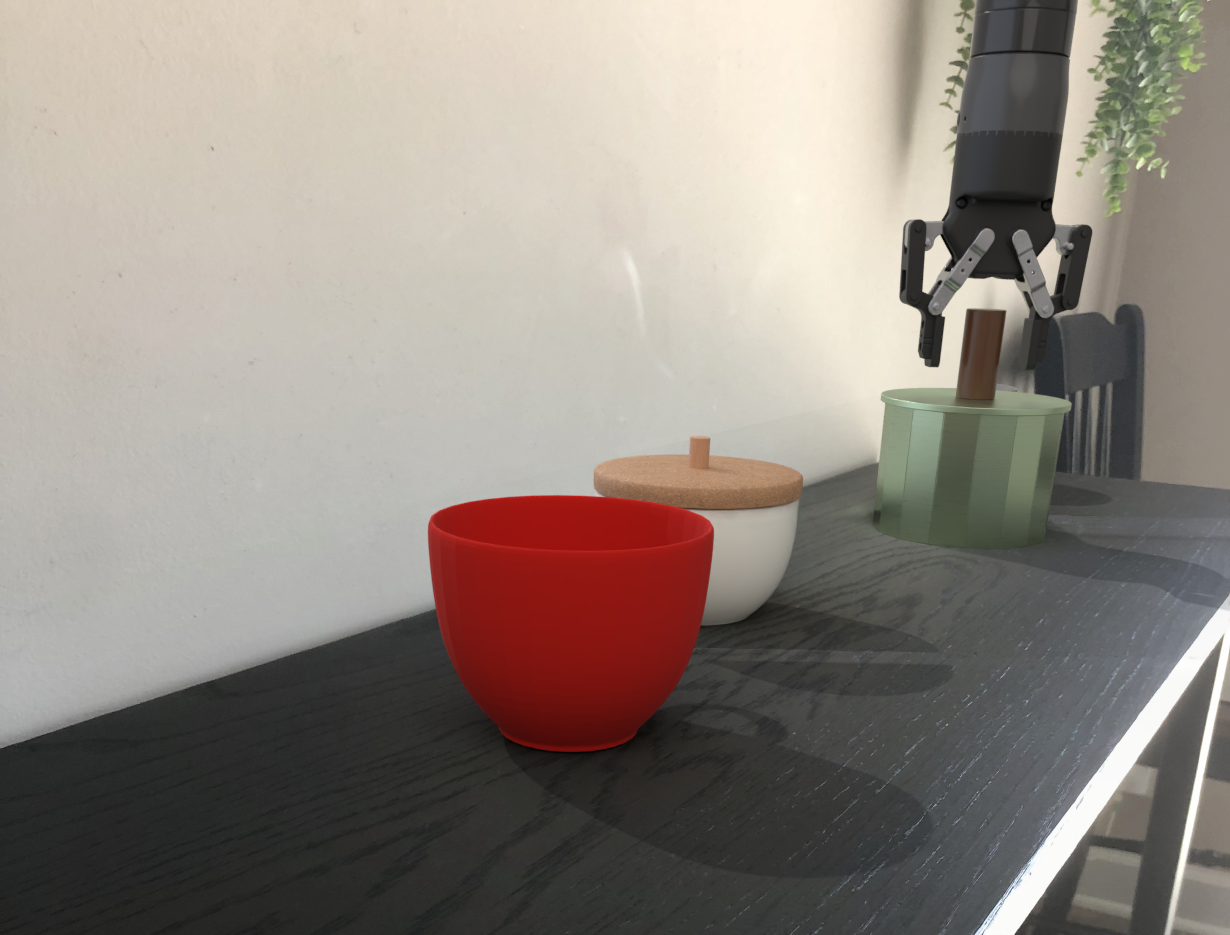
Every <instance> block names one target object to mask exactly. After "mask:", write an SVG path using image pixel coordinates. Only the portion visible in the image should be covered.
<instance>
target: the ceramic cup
mask: <svg viewBox="0 0 1230 935" xmlns="http://www.w3.org/2000/svg"><path fill="white" fill-rule="evenodd" d="M713 544H714V527H713V525H712V524H711V522H710V521H709V520H708V519H706V518H705V517H703V516H702V515H699V514H697V513H694V512H692V511H689V510H685V509H682V508H678V507H674V506H670V505H664V504H659V503H654V502H647V501H640V500H633V499H623V498H612V497H598V496H596V495H572V494H571V495H570V494H565V495H563V494H546V495H544V494H541V495H540V494H539V495H537V494H535V495H518V496H517V495H516V496H502V497H493V498H484V499H479V500H472V501H467V502H462V503H458V504H454V505H450V506H446V507H445V508H442V509H439V510H438V511H436V512H435V513H433V514H432V515H431V516H430V518H429V521H428V524H427V546H428V547H427V548H428V558H429V569H430V578H431V585H432V586H431V587H432V594H433V601H434V606H435V612H436V617H437V622H438V626H439V629H440V634H441V638H442V641H443V643H444V646H445V649H446V652H447V655H448V657H449V659H450V662H451V664H452V666H453V669H454V671H455V672H456V675H457V677H458V679H459V680H460V682H461V684H462V685H463V687H464V688H465V691H467V693H468V695H469V696H470V697H471V699H472V700H473V701H474V702H475V704H476V705H477V706H478V707H479V708H480V710H481V711H482V712H483V713H484V714H485V715H486V716H487V717H488V718H489V719H490V720H491V721H492V722H493V723H494V724H495V725H496V726H498V729H499V731H500V733H501V734H502V736H504V737H505V738H506V739H508V740H510V741H512V742H513V743H516V744H518V745H521V746H523V747H527V748H532V749H536V750H540V751H549V752H560V753H578V752H579V753H580V752H581V753H582V752H583V753H584V752H593V751H600V750H605V749H610V748H614V747H618V746H619V745H623V744H625V743H627V742H629V741H630V740H632V739H633V738H634V737H635V736H636V735H637V732H638V730H639V729H640V728H641V727H642V726H643V725H644V724H646V722H648V721H649V720H650V718H652V717H653V716H654V715H655V713H657V711H659V709H660V708H661V707H662V706H663V705H664V703H666V702H667V700H668V699H669V697H670V696H671V695H672V693H673V692H674V690H675V689H676V687H677V686H678V684H679V683H680V681H681V679H682V677H683V675H684V673H685V672H686V670H687V667H688V665H689V662H690V660H691V658H692V655H693V653H694V650H695V646H696V644H697V640H698V637H699V634H700V630H701V626H702V625H701V622H702V618H703V614H704V609H705V603H706V598H707V592H708V585H709V578H710V571H711V563H712V554H713Z"/></svg>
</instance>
